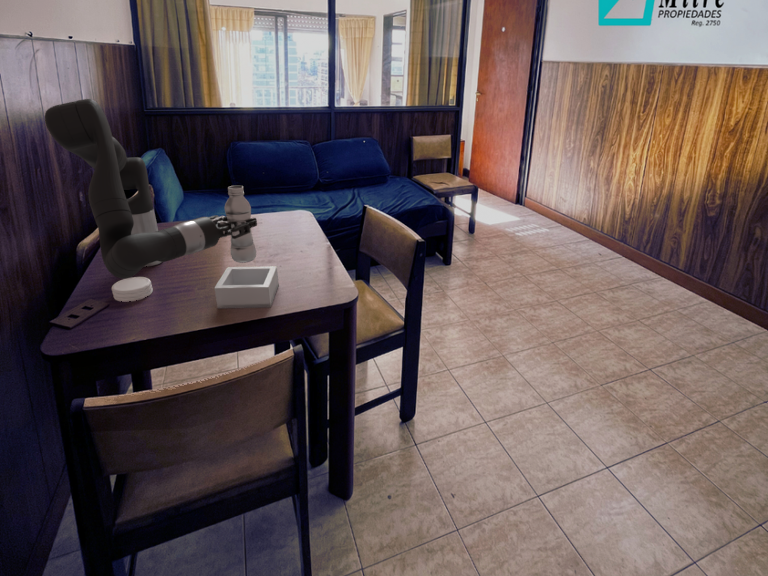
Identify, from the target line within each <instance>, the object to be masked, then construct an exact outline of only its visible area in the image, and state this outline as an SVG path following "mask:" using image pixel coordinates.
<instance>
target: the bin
mask: <svg viewBox="0 0 768 576" xmlns="http://www.w3.org/2000/svg"><path fill="white" fill-rule="evenodd" d="M278 273H279V272H278V266H276V265H274V266H272V265H271V266H270V265H269V266H267V265H266V266H263V265H262V266H228V267H226V269H225V271H224V272H223V273H222V275H221V277H220V279H218V281H217V283H216V284H215V286H214V288H213V289H214V295H215V300H216V307H217V309H250V308H251V309H257V308H260V309H261V308H272V305H273V302H274V299H275V297H276V295H277V294H276V293H277V291H278V289H279V286H280V283H279V275H278Z"/></svg>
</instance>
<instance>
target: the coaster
mask: <svg viewBox="0 0 768 576" xmlns="http://www.w3.org/2000/svg"><path fill="white" fill-rule="evenodd" d="M111 292H112V295H113V298H114V300H115V301H117V302H121V301H122V302H123V303H126V302H127V303H129V301H131V302H136V300H137V301H140V300H143V299H145V297H146V298H147V296H148V297H149V296H151V295H152V293H153V285H152V281H151V280H150V278H148V277H144V276H134V277H133V276H132V277H130V278H125V279H123V278H122V279H121V280H118V281H116V282H114V284H113V285H112V286H111Z"/></svg>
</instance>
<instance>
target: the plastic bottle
mask: <svg viewBox="0 0 768 576" xmlns="http://www.w3.org/2000/svg"><path fill="white" fill-rule="evenodd" d="M227 191H228V192H227V194H228V196H229V198H227V200H226V202H225V204H224V213H225V216H227V220H228V221H231V220H235V221H236V222H238V221H244V220H247V219H250V218H252V207H251V204H250V202H249V201H248V200H247V199H246V197H245V196H244V195H245V192H244V186H243V185H231V186H228V187H227ZM240 225H241V224H240ZM237 226H238V225H237ZM231 227H232V228H233V224H231ZM252 233H253V232H252V228H250V233H248V234H246V235H243V236H241V237H238V238H236V239H232V235H230V247H229V249H230V252H229V253H230V257H231V259H232V260H233V261H234V262H235V263H242V264H243V263H244V264H245V263H250V262H253V261H255V259H256V257H257V249H256V245H255V242H254V239H253V234H252Z"/></svg>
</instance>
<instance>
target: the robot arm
mask: <svg viewBox="0 0 768 576" xmlns="http://www.w3.org/2000/svg"><path fill="white" fill-rule="evenodd" d="M44 122H45V127H46V128H47V131H48V132H49V134H50V135H51V136H52V138H53V139H54V141H55V142H57V144H58V145H59V146H60V147H62V148H63V149H64V150H66V151H68V152H69V153H70V152H71V153H72V154H74V155H76V156H78V157H79V158H81V159H82V160H84V161H85V162H86V163H87V164H88V165H89V166H90V167H92V169H93V173H92V177H91V179H90V183H89V186H88V193H87V194H88V202H89V203H88V204H89V206H90V209H91V212H92V215H93V217H94V221H95V224H96V225H97V226H96V227H97V229H98V236H99V237H98V238H99V246H100V252H101V253H100V254H101V258H102V261H103V264H104V267H105V268H106V270H107V271H108V272H109V274H111V275H112V276H114V277H115V278H119V279H122V280H123V279H127V278H132V277H133V276H134V277H135V275H137V274H138V273H139V272H140V271H141V270H142V269H143V268H144V267H146V266H147V267H152V266H157V265H159V264H161V263H163V262H169V261H172V260H175V259H178V258H180V257H185V256H189V255H193V254H196V253H198V252H201V251H204V250H207V249H210V248H213V247H215V246H216V245H217V244H218V242H219V240H220V239H223V238H224V239H225V238H227V237H229V236H230V237H231V235H232V239H236V238H238V237H241V236H243V235H246V234H248V233H250V228H251V229H252V228H254V227H255V228H256V227H257V226H258V222H257V218H256V217H251V218H250V219H247V220H244V221H238V222H236V221H235V220H231V221H228V220H227V216H226V215H221V216H219V215H211V216H201V217H197V218H193V219H189V220H187V221H183V222H179V223H178V224H175V225H172V226H169V227H168V228H167V227H166V228H163V229H159V228H158V223H157V219H156V218H157V217H156V214H155V209H154V204H153V200H152V195H151V190H150V189H151V188H150V183H149V177H148V169H147V165H146V163H145V161H144V160H143V159H142V157H138V156H137V157H135V156H134V157H127V153H126V150H125V148H124V147H123V146H122V145H121V143H120V142H119V141H118V140H117V139H116V138H115V137H114V136H113V134H112V130H111V127H110V124H109V121H108V119H107V116H106V114H105V112H104V110H103V108H102V106H101V105H100V104H99V103H98V102H97V101H96V100H94V99H92V98H84V99H79V100H74V101H70V102H65V103H64V102H63V103H61V104H56V105H53V106H51V107H49V108H48V109H47V110H46V111H45V112H44ZM124 190H125V191H126V190H137V193H136V194H134V195H133V196H132V197H129V198H127V196H126V194H125V191H124ZM231 224H233V228H232V227H231ZM240 224H241V225H240ZM237 225H238V226H237ZM147 267H146V268H147Z"/></svg>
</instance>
